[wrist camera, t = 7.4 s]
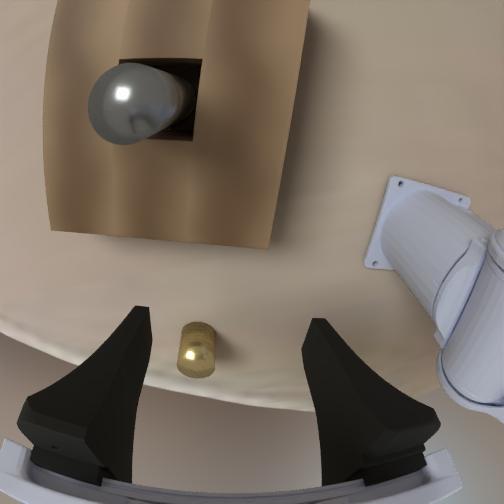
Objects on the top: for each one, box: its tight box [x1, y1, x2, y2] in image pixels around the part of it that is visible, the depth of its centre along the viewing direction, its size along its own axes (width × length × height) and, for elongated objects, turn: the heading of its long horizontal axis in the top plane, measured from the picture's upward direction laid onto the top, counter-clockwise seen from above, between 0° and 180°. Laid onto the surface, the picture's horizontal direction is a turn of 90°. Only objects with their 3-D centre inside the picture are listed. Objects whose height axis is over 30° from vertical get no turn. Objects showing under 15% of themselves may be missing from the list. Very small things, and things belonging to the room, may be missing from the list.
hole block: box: [43, 0, 310, 249], centre depth 15 cm, size 14×16×4 cm
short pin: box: [177, 322, 216, 378], centre depth 25 cm, size 3×3×4 cm
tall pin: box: [88, 63, 196, 145], centre depth 13 cm, size 3×3×9 cm
